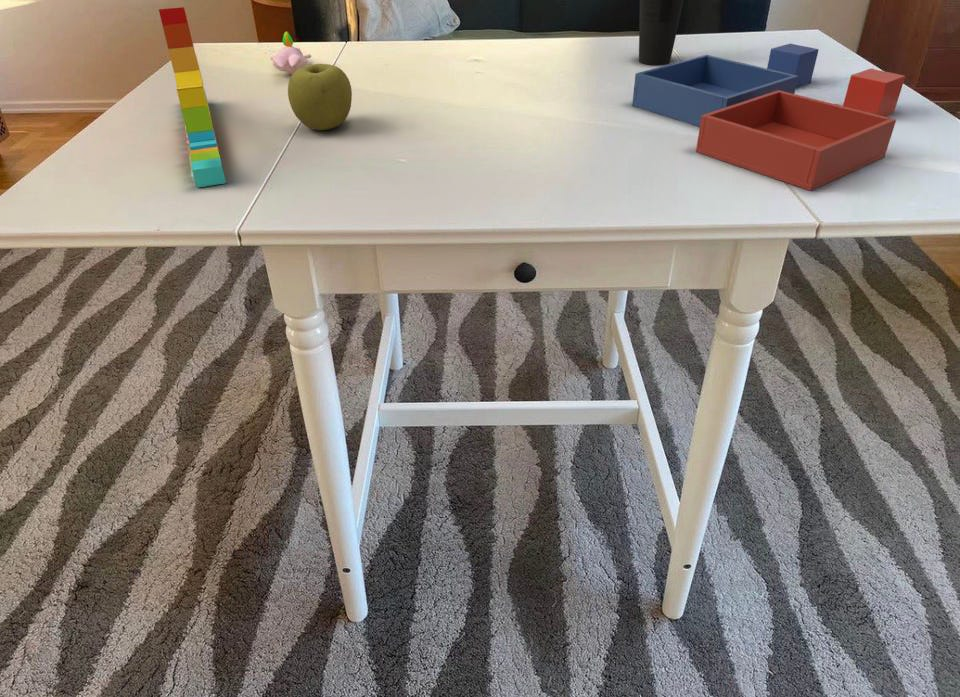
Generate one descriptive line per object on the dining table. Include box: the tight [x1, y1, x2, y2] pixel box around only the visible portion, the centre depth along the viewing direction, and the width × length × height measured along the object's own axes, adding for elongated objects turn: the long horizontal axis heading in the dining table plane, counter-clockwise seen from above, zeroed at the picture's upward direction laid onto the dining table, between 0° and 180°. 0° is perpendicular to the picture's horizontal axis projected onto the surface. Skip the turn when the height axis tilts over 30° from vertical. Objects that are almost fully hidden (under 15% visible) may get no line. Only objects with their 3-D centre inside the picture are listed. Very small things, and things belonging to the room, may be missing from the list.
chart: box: [158, 6, 227, 189], centre depth 83 cm, size 30×3×15 cm, turn 21°
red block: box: [842, 68, 906, 117], centre depth 90 cm, size 4×4×4 cm
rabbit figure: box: [269, 31, 312, 76], centre depth 109 cm, size 6×6×15 cm
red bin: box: [695, 90, 897, 192], centre depth 79 cm, size 14×14×4 cm
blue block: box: [766, 43, 820, 88], centre depth 101 cm, size 4×4×4 cm
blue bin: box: [631, 54, 799, 128], centre depth 93 cm, size 14×14×4 cm
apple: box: [287, 63, 353, 131], centre depth 88 cm, size 8×8×7 cm
